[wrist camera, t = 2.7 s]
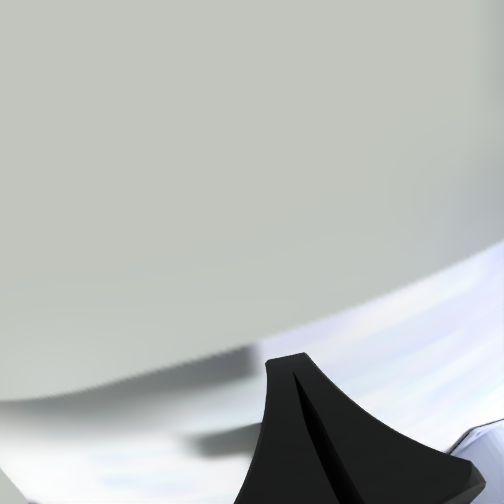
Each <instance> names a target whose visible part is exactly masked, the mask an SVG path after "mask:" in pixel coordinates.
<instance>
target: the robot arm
mask: <svg viewBox="0 0 504 504" xmlns="http://www.w3.org/2000/svg"><path fill="white" fill-rule="evenodd" d="M265 366H266V373H267V393H266V402H265V410H264V416H263V421H262V426H261V431H260V435H259V439H258V443H257V446H256V449H255V453H254V456H253V459H252V462H251V465H250V467H249V470H248V473H247V475H246V478H245V480H244V483H243V485H242V487H241V489H240V491H239V493H238V496H237V498H236V500H235V502H234V504H504V420H502V421H499V422H495V423H492V424H489V425H485V426H482V427H478V428H475V429H474V430H472V431H471V432H470V433H469V435H468V436H467V437H466V438H465V439H464V440H463V441H462V442H461V443H460V444H459V446H458V447H457V448H456V449H455V450H454V451H453V452H452V453H451V454H450V455H449V454H446V453H443V452H440V451H438V450H435V449H433V448H430V447H428V446H425V445H423V444H421V443H419V442H417V441H415V440H413V439H411V438H409V437H407V436H405V435H403V434H401V433H399V432H397V431H395V430H394V429H392V428H390V427H389V426H387V425H385V424H384V423H382V422H381V421H379V420H378V419H376V418H375V417H373V416H372V415H371V414H369V413H368V412H366V411H365V410H364V409H362V408H361V407H360V406H359V405H357V404H356V403H355V402H354V401H353V400H351V399H350V398H349V397H348V396H347V395H346V394H344V393H343V392H342V391H341V390H340V389H339V388H338V387H337V386H336V385H335V384H334V383H333V382H332V381H331V380H330V379H329V378H328V377H327V376H326V375H325V374H324V373H323V372H322V371H321V370H320V369H319V368H318V367H317V365H316V364H315V363H314V362H313V361H312V360H311V358H310V357H309V356H308V355H307V354H306V353H304V352H303V353H299V354H294V355H290V356H285V357H280V358H275V359H270V360H268V361H267V362H266V363H265Z"/></svg>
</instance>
